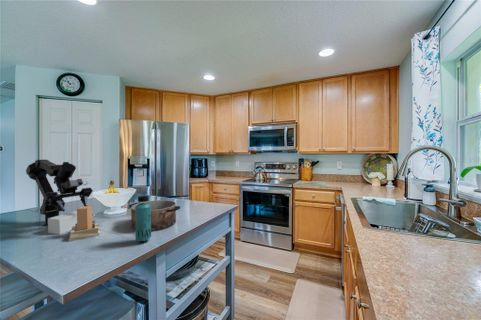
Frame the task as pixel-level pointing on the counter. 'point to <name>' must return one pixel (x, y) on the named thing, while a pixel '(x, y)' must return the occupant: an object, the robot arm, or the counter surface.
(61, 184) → the robot arm
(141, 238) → the beverage bottle
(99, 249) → the counter surface
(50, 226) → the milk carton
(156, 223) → the cooking pot
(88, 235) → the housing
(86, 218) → the block
